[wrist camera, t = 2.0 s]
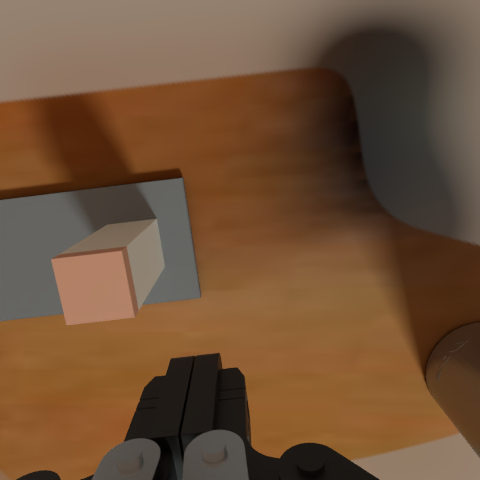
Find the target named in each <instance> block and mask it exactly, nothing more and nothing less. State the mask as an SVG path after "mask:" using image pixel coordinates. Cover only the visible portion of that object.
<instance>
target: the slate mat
mask: <svg viewBox="0 0 480 480" xmlns="http://www.w3.org/2000/svg"><path fill="white" fill-rule="evenodd" d="M150 219H157V223H158V229H159V235H160V240H161V246H162V252H163V258H164V264H165V267H164V269H163V271H162V272H161V274H160V276H159V277H158V279H157V281H156V282H155V284H154V286H153V287H152V289H151V291H150V292H149V294H148V296H147V297H146V299H145V301H144V303H143V304H142V305H144V304H153V303H161V302H170V301H179V300H187V299H196V298H201V292H200V286H199V279H198V272H197V266H196V259H195V253H194V246H193V239H192V233H191V226H190V219H189V213H188V206H187V200H186V193H185V186H184V180H183V178H175V179H166V180H158V181H150V182H142V183H134V184H126V185H117V186H109V187H101V188H93V189H85V190H76V191H68V192H60V193H52V194H44V195H35V196H27V197H19V198H11V199H3V200H0V321H6V320H14V319H23V318H31V317H40V316H49V315H57V314H64V312H63V308H62V304H61V300H60V295H59V291H58V287H57V283H56V279H55V274H54V270H53V266H52V262H51V259H52V258H54V257H55V256H57V255H59V254H60V253H62V252H63V251H65V250H67V249H68V248H70V247H72V246H73V245H75V244H76V243H78V242H80V241H81V240H83V239H85V238H86V237H88V236H90V235H91V234H93V233H94V232H96V231H98V230H99V229H101V228H103V227H104V226H106V225H108V224H116V223H125V222H133V221H141V220H150Z"/></svg>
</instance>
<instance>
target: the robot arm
mask: <svg viewBox="0 0 480 480" xmlns="http://www.w3.org/2000/svg"><path fill="white" fill-rule="evenodd" d="M426 381H427V386H428V388H429V391H430V393H431V395H432V396H433V397H434V399H435V400H436V402H437V403H438V404H439V405H440V407H441V408H442V409H443V411H444V412H445V413H446V415H447V416H448V417H449V419H450V420H451V421H452V422H453V424H454V425H455V427H456V428H457V429H458V431H459V432H460V433H461V434H462V436H463V437H464V438H465V440H466V441H467V442H468V444H469V445H470V446H471V447H472V449H473V450H474V451H475V453H476V454H477V455H478V456H479V458H480V322H477V323H471V324H468V325H465V326H462V327H460V328H458V329H456V330H454V331H452V332H451V333H449V334H448V335H447V336H445V337H444V338H443V339H442V340H441V341H440V342H439V343H438V344H437V346H436V347H435V348H434V350H433V352H432V353H431V355H430V357H429V360H428V363H427V368H426ZM17 480H61V479H60V477H59V475H58V474H57V473H55V472H52V471H47V470H44V471H36V472H33V473H29V474H27V475H24V476H22V477H20V478H18V479H17ZM81 480H379V479H378V478H376V477H375V476H373V475H371V474H370V473H368V472H367V471H365V470H364V469H362V468H361V467H359V466H358V465H356V464H354V463H353V462H351V461H350V460H348V459H347V458H345V457H344V456H342V455H340V454H339V453H337V452H336V451H334V450H333V449H331V448H329V447H327V446H325V445H322V444H317V443H303V444H298V445H295V446H293V447H291V448H289V449H288V450H287V451H285V452H284V453H283V455H282V456H281V457H280V459H279V458H273V457H269V456H265V455H263V454H261V453H259V452H257V451H256V450H254V449H253V448H252V447H251V428H250V415H249V408H248V400H247V392H246V385H245V377H244V375H243V374H242V373H241V371H240V370H239V369H238V368H228V369H222V362H221V356H220V353H215V354H206V355H197V356H196V357H195V356H189V357H180V358H172V359H171V360H170V363H169V366H168V370H167V373H166V376H157V377H154V378H153V379H152V380H151V381H150V382H149V383H148V384H147V385H146V386H145V387H144V390H143V392H142V395H141V398H140V402H139V403H138V406H137V408H136V411H135V414H134V416H133V419H132V422H131V424H130V427H129V429H128V432H127V435H126V437H125V440H124V442H123V443H121V444H119V445H117V446H115V447H114V448H113V449H111V450H110V451H109V452H108V453H107V454H106V455H105V456H104V457H103V459H102V461H101V462H100V464H99V466H98V468H97V470H96V472H95V474H94V475H91V476H89V477H87V478H84V479H81Z"/></svg>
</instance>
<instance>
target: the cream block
mask: <svg viewBox="0 0 480 480" xmlns="http://www.w3.org/2000/svg"><path fill="white" fill-rule="evenodd" d="M51 262H52V266H53V270H54V274H55V279H56V283H57V287H58V291H59V295H60V300H61V304H62V308H63V312H64V316H65V321H66V325H72V324H81V323H90V322H98V321H107V320H116V319H124V318H133V317H135V316H136V314H137V313H138V311H139V309H140V308H141V306H142V304H143V303H144V301H145V299H146V297H147V296H148V294H149V292H150V291H151V289H152V287H153V286H154V284H155V282H156V281H157V279H158V277H159V276H160V274H161V272H162V271H163V269H164V267H165V264H164V258H163V252H162V246H161V240H160V235H159V229H158V223H157V219H150V220H141V221H133V222H125V223H116V224H108V225H106V226H104V227H103V228H101V229H99V230H98V231H96V232H94V233H93V234H91V235H90V236H88V237H86V238H85V239H83V240H81V241H80V242H78V243H76V244H75V245H73V246H72V247H70V248H68V249H67V250H65V251H63V252H62V253H60V254H59V255H57V256H55V257H54V258H52V259H51Z"/></svg>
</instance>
